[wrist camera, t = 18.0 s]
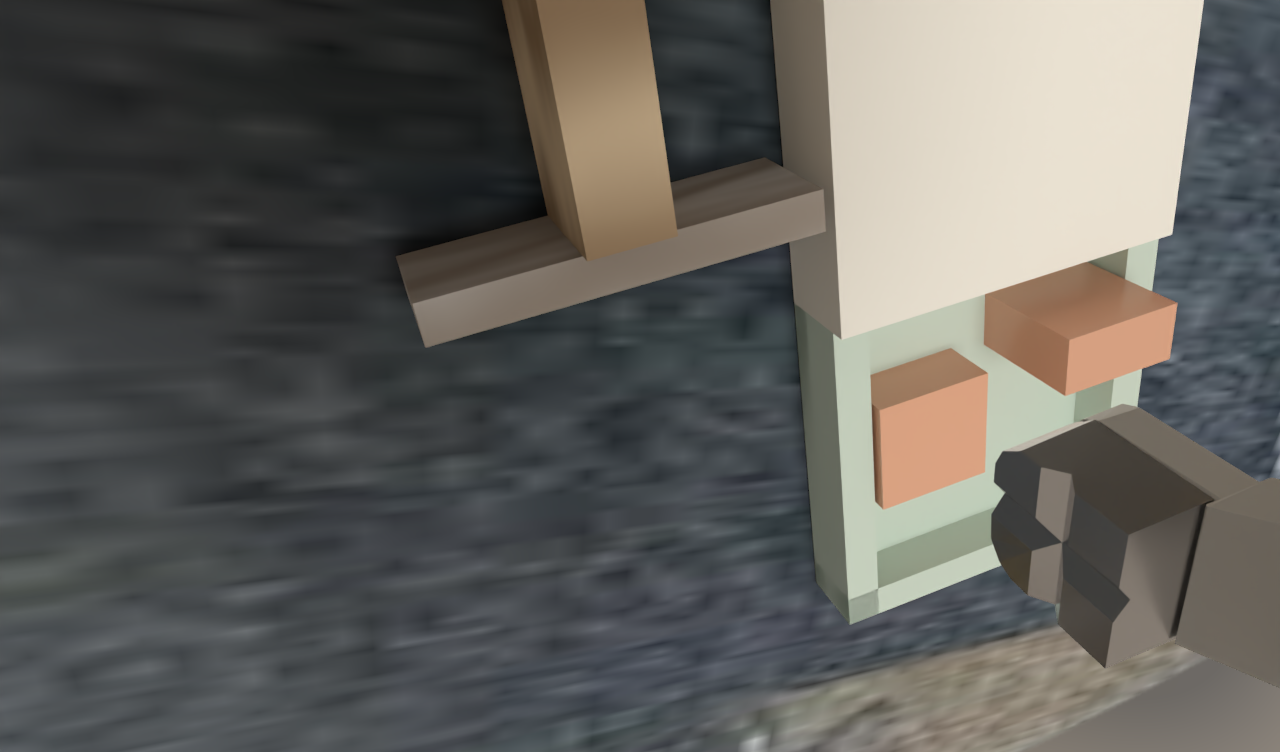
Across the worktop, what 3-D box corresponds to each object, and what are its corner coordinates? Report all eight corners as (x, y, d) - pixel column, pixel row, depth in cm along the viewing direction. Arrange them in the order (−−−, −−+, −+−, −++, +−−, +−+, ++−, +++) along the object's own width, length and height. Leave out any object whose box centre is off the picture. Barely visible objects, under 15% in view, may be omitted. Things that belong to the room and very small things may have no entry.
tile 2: (1069, 340, 29) (1065, 396, 30) (1177, 302, 30) (1169, 358, 30) (985, 292, 32) (983, 344, 33) (1084, 260, 33) (1080, 312, 34)
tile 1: (883, 510, 32) (852, 478, 34) (985, 472, 33) (950, 443, 35) (879, 410, 30) (847, 382, 32) (988, 372, 31) (950, 347, 33)
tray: (794, 302, 31) (832, 333, 28) (1103, 208, 33) (1159, 229, 31) (816, 582, 37) (849, 624, 34) (1076, 483, 39) (1122, 517, 37)
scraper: (233, -276, 20) (226, -310, 16) (718, -344, 22) (798, -386, 19) (407, 294, 26) (427, 354, 23) (767, 195, 29) (833, 236, 25)
